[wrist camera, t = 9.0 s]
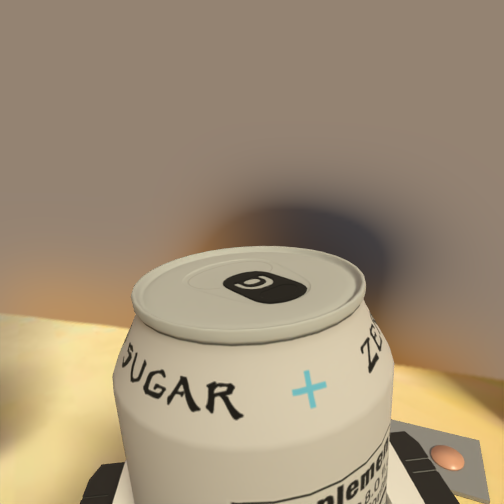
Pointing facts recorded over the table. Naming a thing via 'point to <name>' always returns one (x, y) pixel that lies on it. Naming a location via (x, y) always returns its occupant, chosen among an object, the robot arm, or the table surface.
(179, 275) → the energy drink can
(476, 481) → the grey button plate
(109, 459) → the table surface
